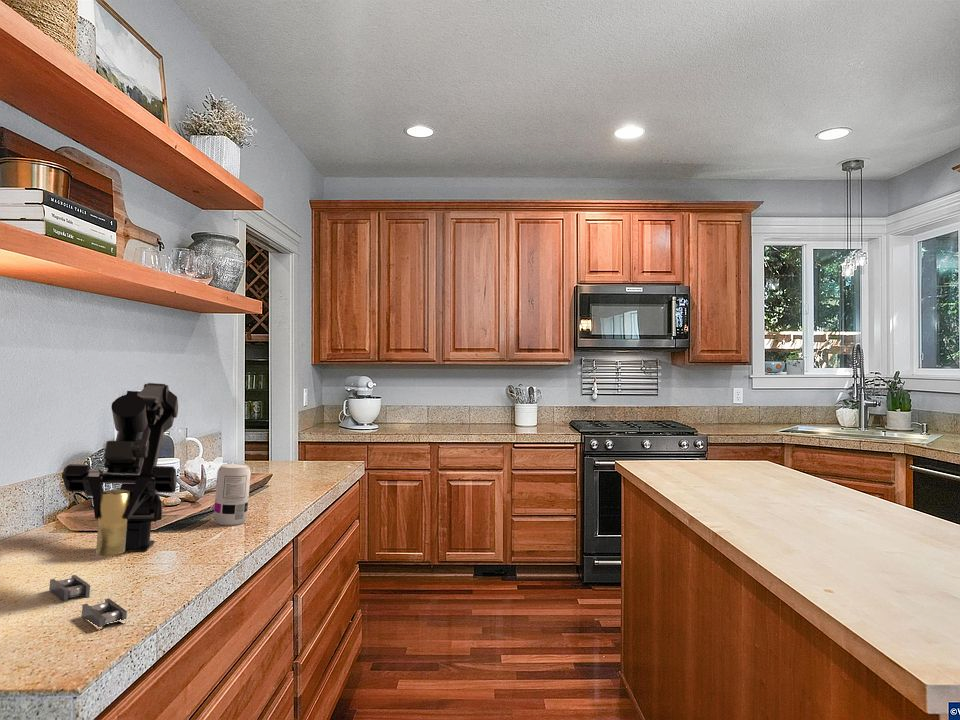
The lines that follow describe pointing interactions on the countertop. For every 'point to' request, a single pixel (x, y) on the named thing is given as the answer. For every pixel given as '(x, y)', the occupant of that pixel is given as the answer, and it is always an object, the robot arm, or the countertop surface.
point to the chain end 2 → (103, 613)
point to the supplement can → (232, 494)
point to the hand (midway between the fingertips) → (111, 518)
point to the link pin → (112, 522)
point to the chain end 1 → (69, 588)
